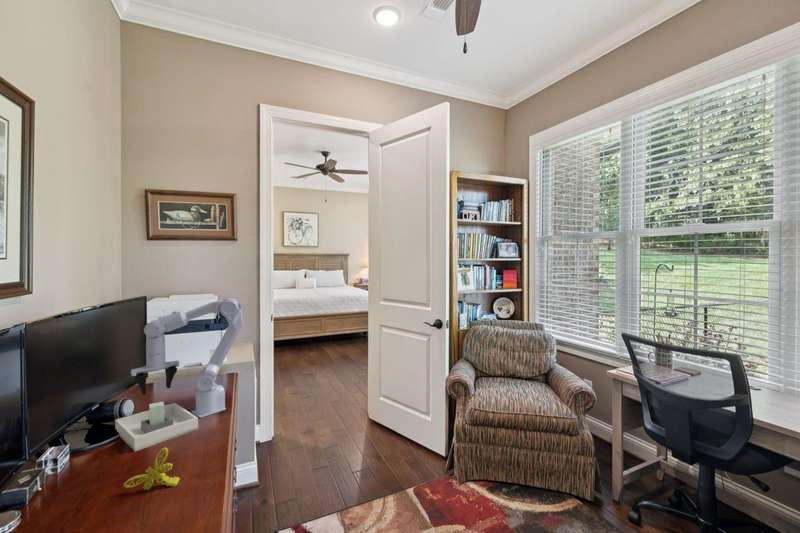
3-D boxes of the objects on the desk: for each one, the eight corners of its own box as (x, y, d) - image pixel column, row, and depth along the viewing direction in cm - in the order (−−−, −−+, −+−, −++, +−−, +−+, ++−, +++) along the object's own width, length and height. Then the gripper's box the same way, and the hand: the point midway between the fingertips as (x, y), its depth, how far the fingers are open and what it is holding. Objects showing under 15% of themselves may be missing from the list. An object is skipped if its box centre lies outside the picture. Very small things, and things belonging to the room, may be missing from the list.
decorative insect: (151, 509, 89) (121, 486, 87) (155, 501, 92) (126, 479, 90) (191, 471, 92) (163, 448, 90) (194, 465, 94) (167, 442, 93)
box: (175, 413, 133) (174, 402, 133) (198, 429, 121) (198, 417, 121) (115, 431, 119) (115, 419, 119) (134, 451, 107) (134, 438, 107)
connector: (163, 424, 123) (163, 401, 123) (164, 428, 120) (164, 405, 120) (149, 427, 120) (149, 404, 120) (150, 432, 117) (149, 408, 117)
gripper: (173, 347, 136) (174, 382, 137) (127, 355, 125) (128, 393, 125) (181, 350, 132) (181, 386, 132) (134, 359, 121) (134, 398, 121)
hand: (156, 390), depth 128 cm, fingers open, 7 cm apart
